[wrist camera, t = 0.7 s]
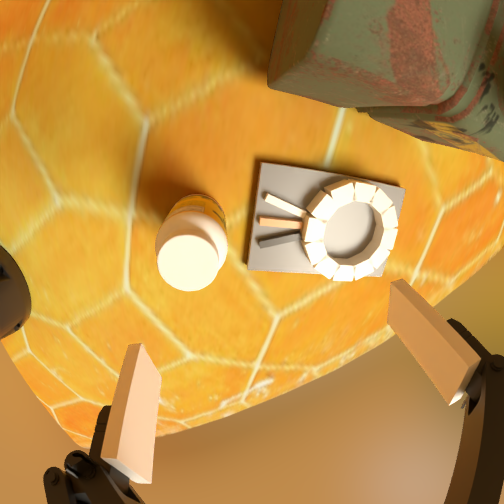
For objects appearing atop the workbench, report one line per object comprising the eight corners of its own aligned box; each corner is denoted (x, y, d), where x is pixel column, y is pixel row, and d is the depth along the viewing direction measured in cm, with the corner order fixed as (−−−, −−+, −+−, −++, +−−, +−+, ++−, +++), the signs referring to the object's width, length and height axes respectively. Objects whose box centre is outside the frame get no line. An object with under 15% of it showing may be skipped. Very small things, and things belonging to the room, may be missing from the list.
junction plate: (246, 265, 33) (249, 278, 30) (260, 161, 29) (264, 164, 26) (377, 272, 36) (388, 283, 33) (400, 187, 31) (415, 192, 28)
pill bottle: (228, 243, 32) (232, 297, 22) (174, 248, 32) (156, 303, 21) (223, 189, 29) (225, 220, 19) (166, 195, 29) (139, 229, 19)
